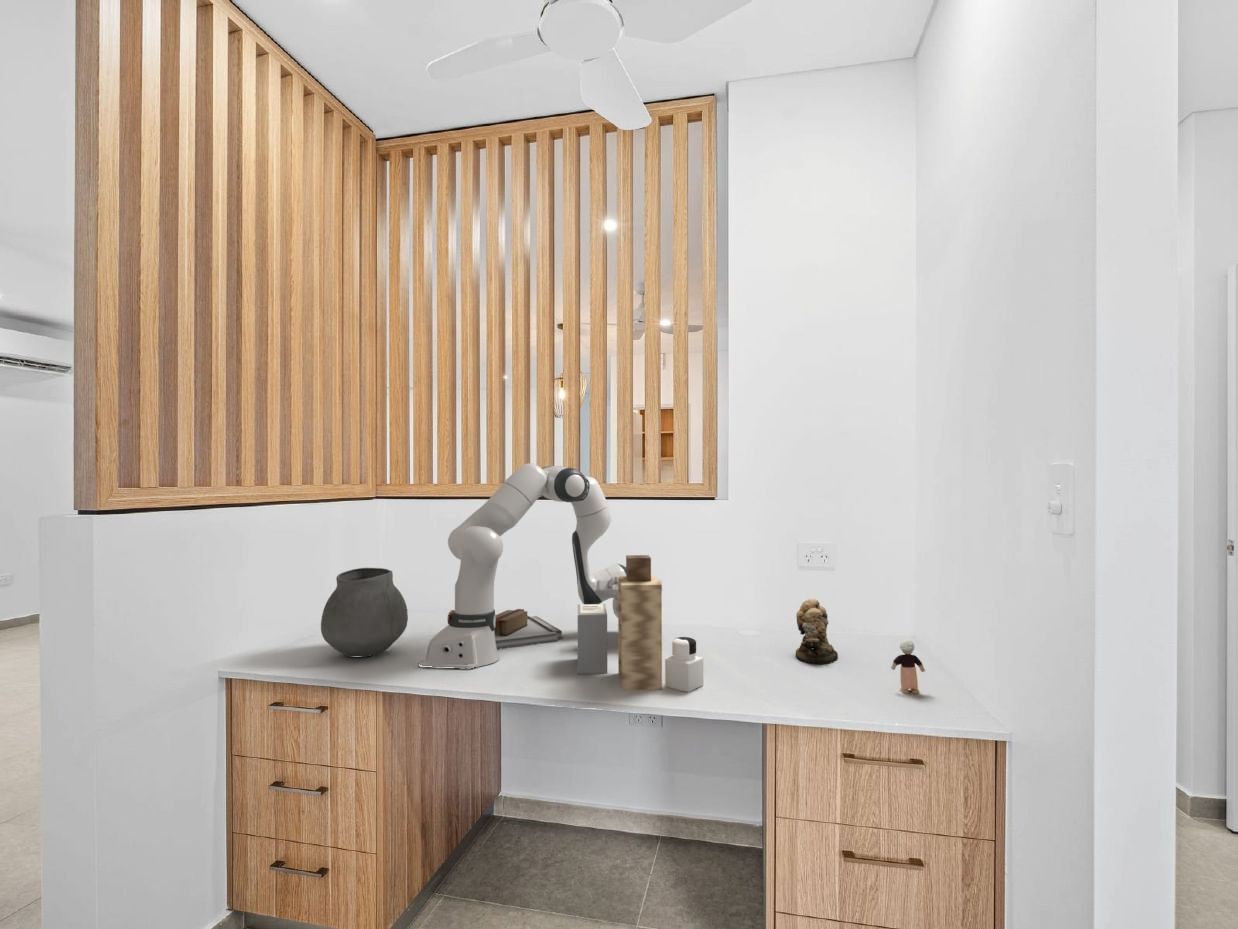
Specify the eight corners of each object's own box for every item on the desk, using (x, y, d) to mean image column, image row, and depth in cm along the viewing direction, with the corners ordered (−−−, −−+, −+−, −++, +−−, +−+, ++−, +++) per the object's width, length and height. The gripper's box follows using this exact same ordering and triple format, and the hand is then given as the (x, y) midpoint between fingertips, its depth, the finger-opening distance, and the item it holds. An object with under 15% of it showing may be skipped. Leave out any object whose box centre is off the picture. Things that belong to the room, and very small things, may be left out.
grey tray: (451, 632, 218) (451, 611, 218) (534, 623, 232) (534, 602, 232) (472, 654, 191) (472, 629, 192) (564, 642, 205) (564, 619, 205)
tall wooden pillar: (622, 690, 157) (621, 585, 157) (618, 673, 171) (618, 576, 171) (662, 689, 157) (661, 584, 158) (655, 672, 171) (654, 576, 172)
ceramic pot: (300, 662, 182) (301, 575, 182) (358, 641, 205) (359, 563, 206) (371, 669, 175) (372, 578, 175) (423, 646, 198) (424, 566, 198)
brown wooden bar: (627, 581, 163) (627, 558, 163) (623, 571, 180) (623, 550, 180) (651, 581, 163) (650, 558, 163) (644, 571, 181) (644, 550, 181)
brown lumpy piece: (836, 668, 175) (835, 606, 175) (792, 664, 179) (791, 603, 179) (838, 650, 192) (837, 594, 192) (798, 647, 196) (797, 592, 196)
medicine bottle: (680, 680, 165) (680, 633, 165) (704, 685, 160) (703, 638, 160) (664, 687, 159) (664, 639, 159) (688, 693, 155) (688, 643, 155)
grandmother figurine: (918, 688, 157) (918, 637, 157) (926, 694, 153) (926, 641, 154) (888, 689, 157) (887, 638, 157) (895, 694, 153) (895, 642, 153)
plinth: (577, 673, 170) (577, 614, 170) (577, 659, 184) (577, 603, 184) (607, 673, 170) (607, 613, 171) (605, 658, 184) (605, 603, 185)
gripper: (594, 585, 202) (596, 569, 190) (658, 585, 203) (663, 568, 192) (595, 604, 199) (596, 589, 187) (659, 604, 200) (664, 588, 188)
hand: (630, 579), depth 189 cm, fingers open, 8 cm apart
